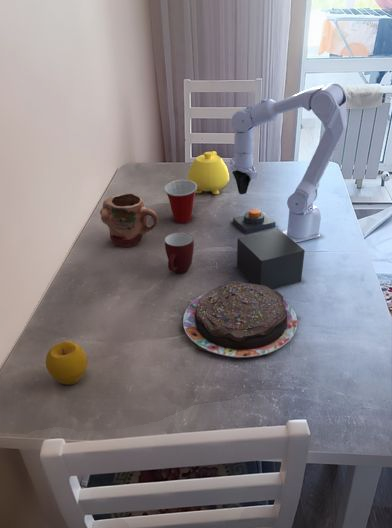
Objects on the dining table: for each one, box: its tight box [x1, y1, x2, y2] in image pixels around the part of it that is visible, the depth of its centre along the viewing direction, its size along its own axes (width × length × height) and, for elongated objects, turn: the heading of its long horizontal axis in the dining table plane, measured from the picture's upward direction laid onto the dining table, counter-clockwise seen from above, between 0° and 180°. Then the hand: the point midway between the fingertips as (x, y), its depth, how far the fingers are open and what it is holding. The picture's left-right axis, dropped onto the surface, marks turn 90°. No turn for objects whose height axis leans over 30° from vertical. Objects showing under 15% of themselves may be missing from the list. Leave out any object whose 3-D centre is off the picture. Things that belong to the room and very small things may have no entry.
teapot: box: [187, 150, 230, 195], centre depth 182 cm, size 20×16×14 cm
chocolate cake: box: [182, 281, 298, 359], centre depth 116 cm, size 28×28×7 cm
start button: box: [248, 208, 261, 218], centre depth 157 cm, size 4×4×2 cm
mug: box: [164, 232, 195, 274], centre depth 135 cm, size 10×8×10 cm
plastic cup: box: [163, 179, 197, 224], centre depth 161 cm, size 11×11×12 cm
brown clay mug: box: [99, 193, 159, 248], centre depth 149 cm, size 20×12×14 cm, turn 73°
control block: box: [232, 210, 277, 234], centre depth 159 cm, size 11×9×4 cm
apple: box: [45, 340, 88, 386], centre depth 102 cm, size 9×8×9 cm
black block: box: [236, 228, 306, 290], centre depth 132 cm, size 14×13×10 cm
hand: (242, 193), depth 155 cm, fingers closed
